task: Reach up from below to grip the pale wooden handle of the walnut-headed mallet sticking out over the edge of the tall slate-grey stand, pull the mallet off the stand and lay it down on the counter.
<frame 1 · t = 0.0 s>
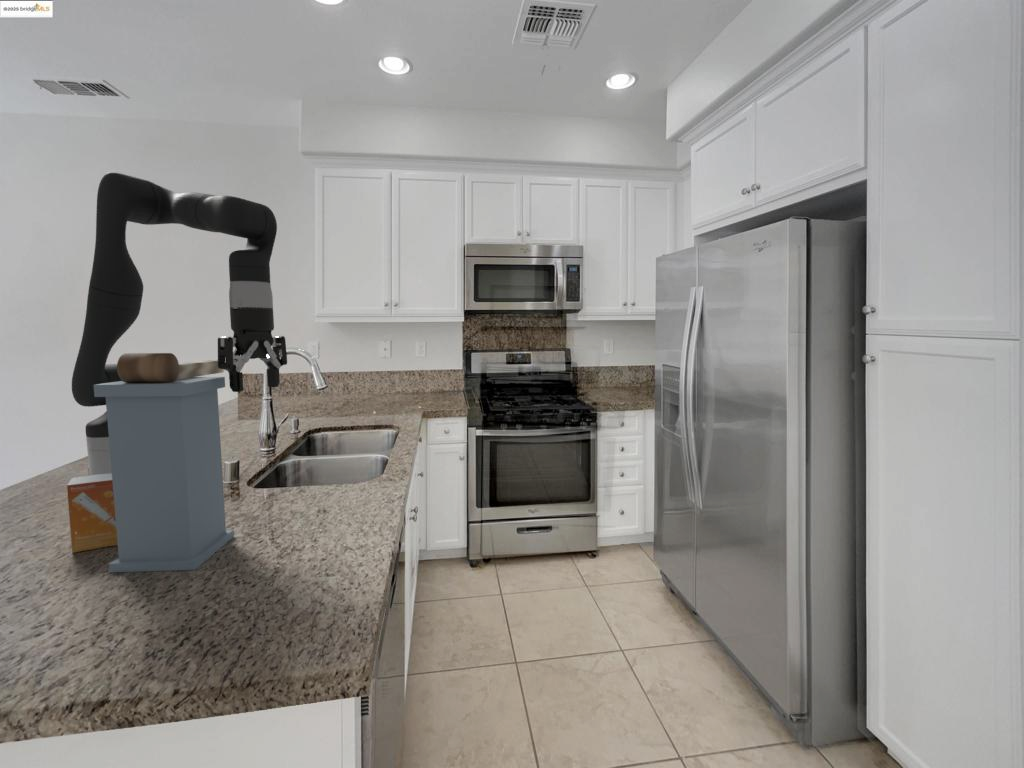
hand: (256, 389, 100), 29 cm above the counter, tool pointing down, fingers open, 8 cm apart
small box: (101, 544, 98), on the counter
mallet: (164, 380, 90), point 32 cm above the counter, touching stand
stand: (176, 553, 94), on the counter
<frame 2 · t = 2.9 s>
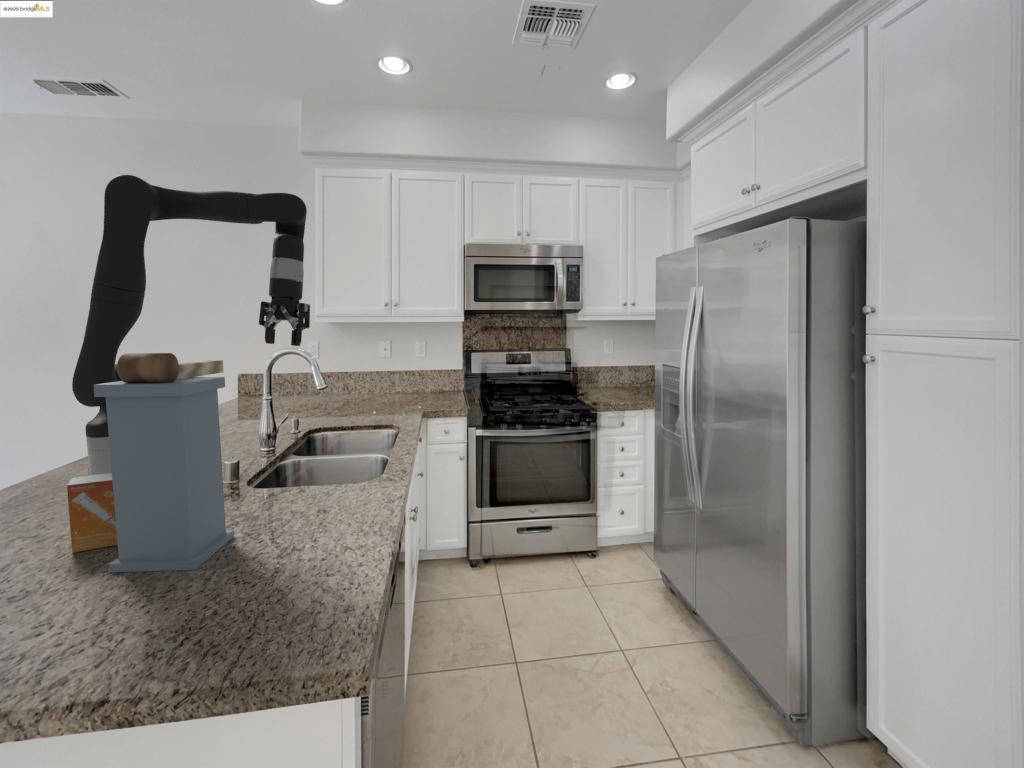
hand: (282, 344, 126), 37 cm above the counter, tool pointing down, fingers open, 8 cm apart
nothing on the counter moved.
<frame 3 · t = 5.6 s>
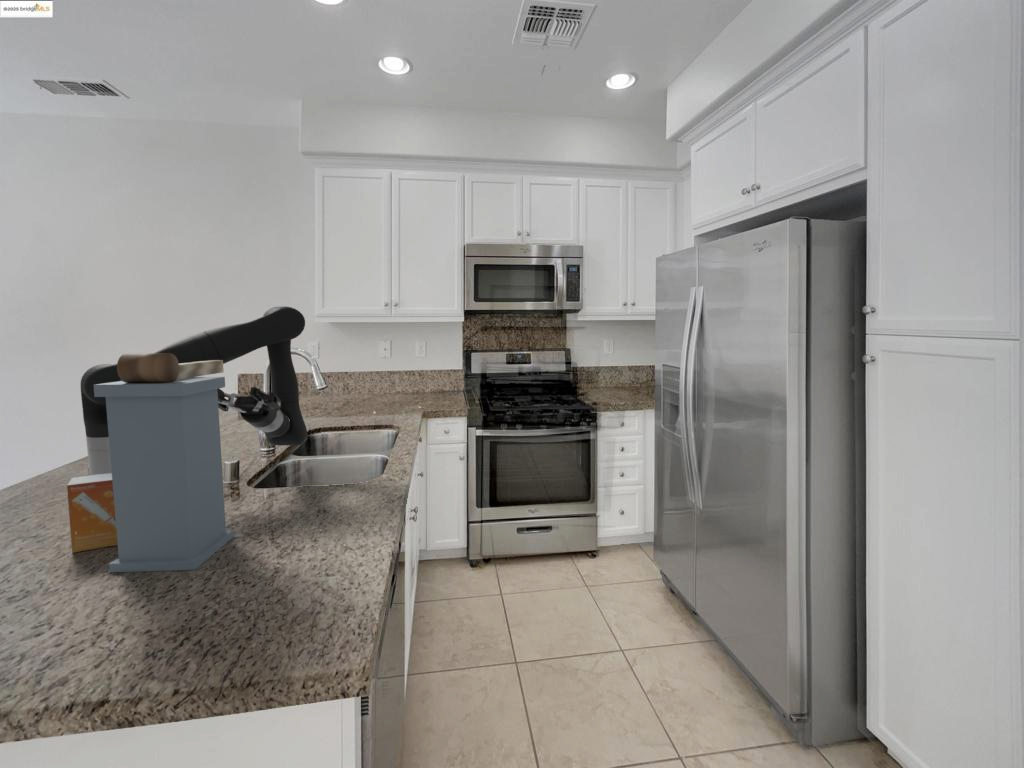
hand: (233, 390, 116), 27 cm above the counter, tool pointing upward, fingers open, 8 cm apart
nothing on the counter moved.
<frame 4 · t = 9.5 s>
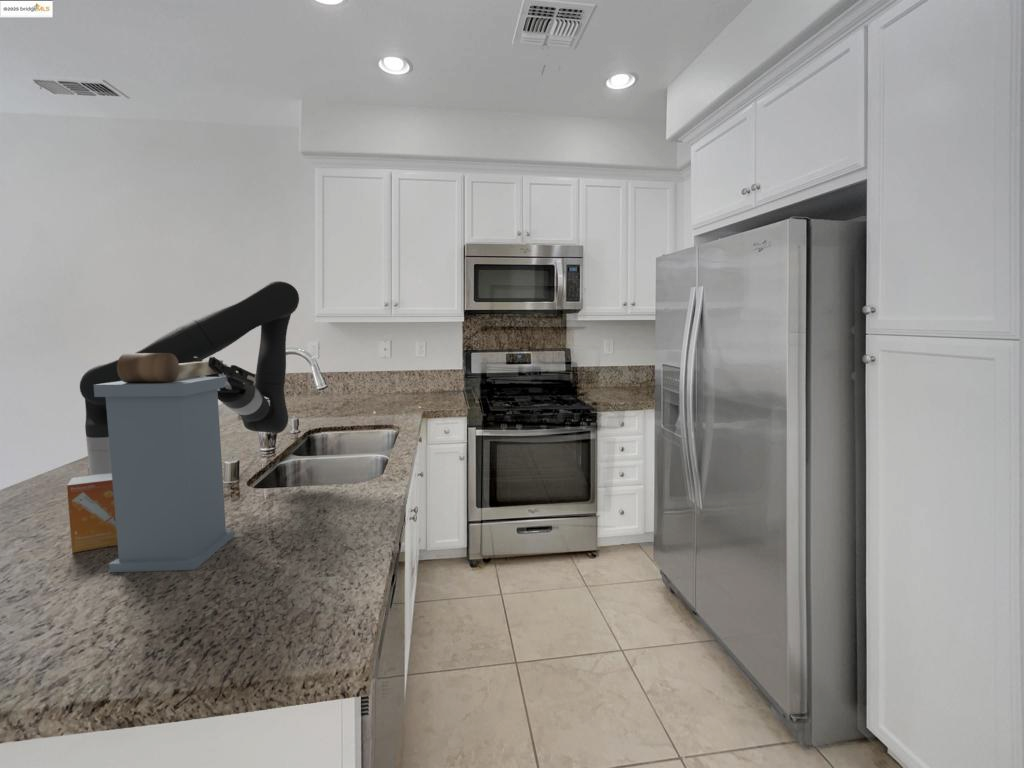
hand: (202, 360, 103), 35 cm above the counter, tool pointing upward, fingers closed on mallet, 2 cm apart
mallet: (164, 380, 90), point 32 cm above the counter, touching gripper
everything else where it was.
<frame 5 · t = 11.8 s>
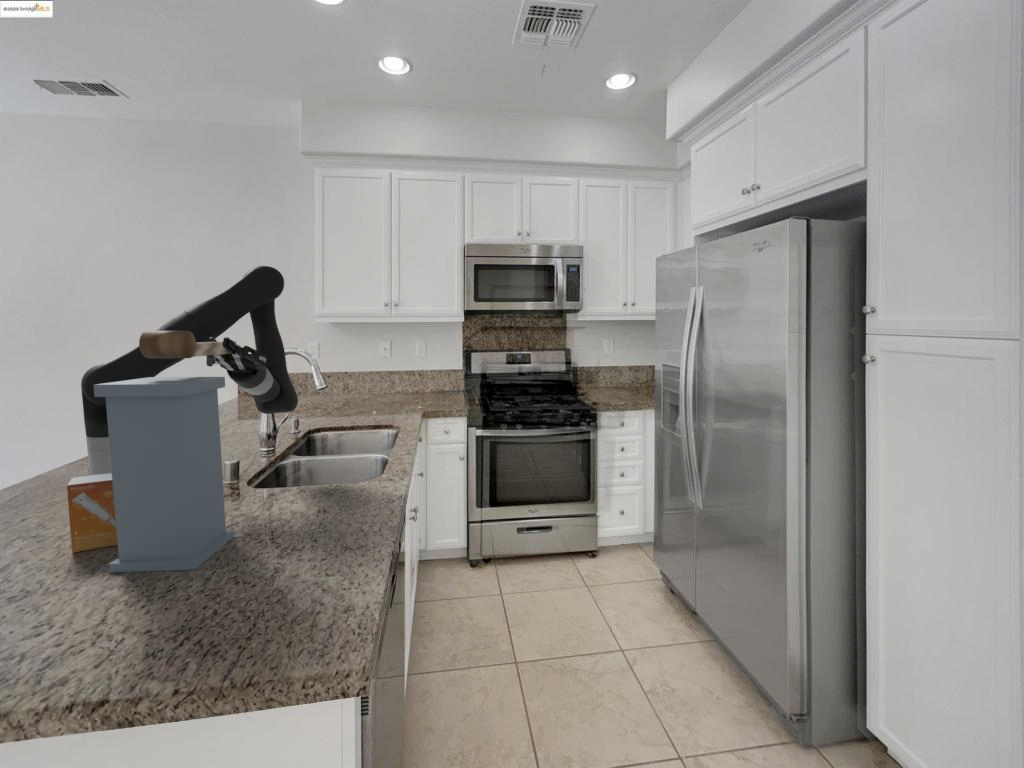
hand: (217, 341, 109), 39 cm above the counter, tool pointing upward, fingers closed on mallet, 2 cm apart
mallet: (182, 357, 96), point 36 cm above the counter, touching gripper
everything else where it was.
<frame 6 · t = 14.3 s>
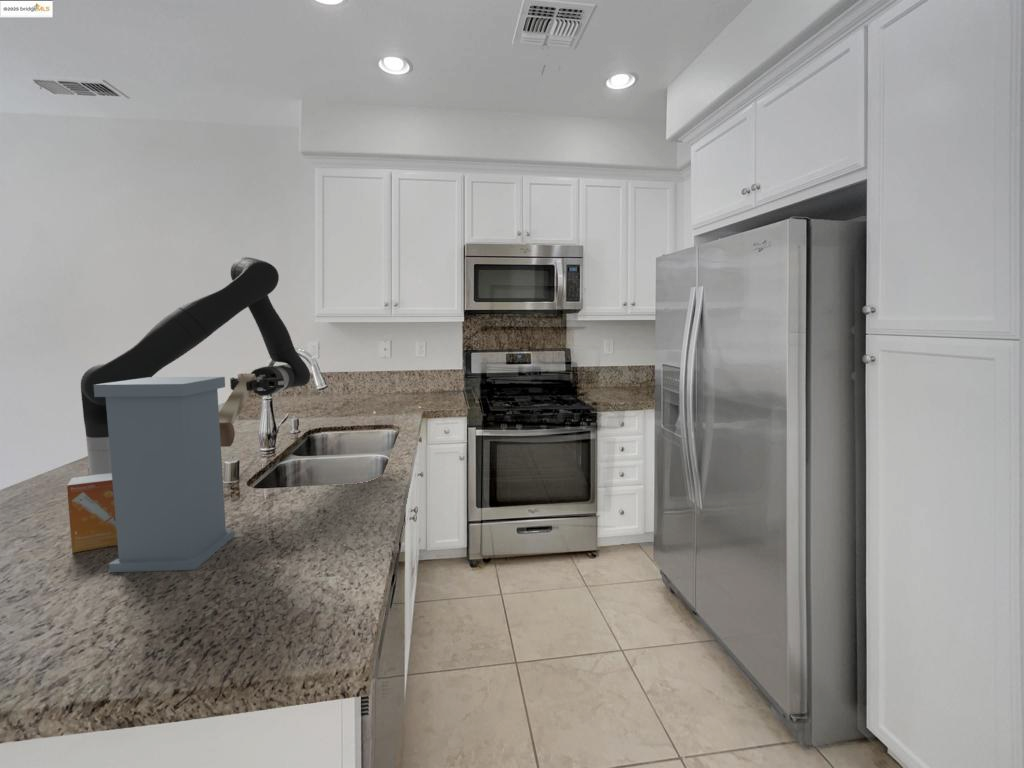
hand: (241, 386, 119), 28 cm above the counter, tool horizontal, fingers closed on mallet, 2 cm apart
mallet: (222, 431, 110), point 19 cm above the counter, tilted 29°, touching gripper
everything else where it was.
when the fingers open (14 cm above the counter, at t = 18.0 s): mallet drops 5 cm, on the counter.
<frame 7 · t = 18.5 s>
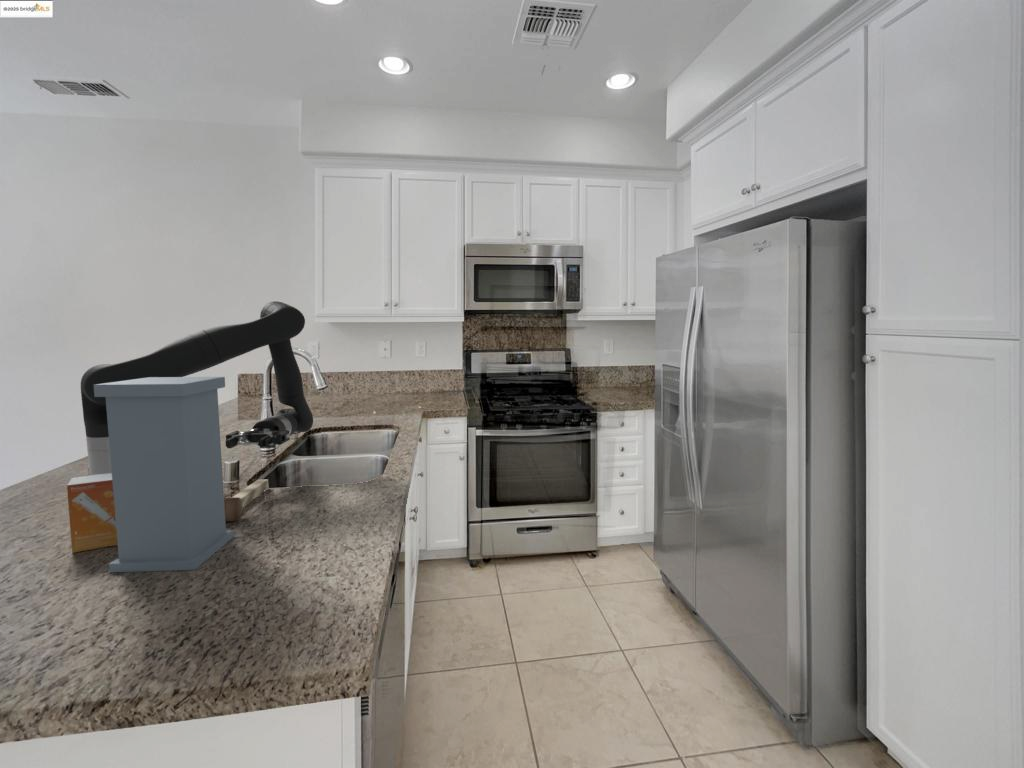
hand: (244, 444, 121), 14 cm above the counter, tool horizontal, fingers open, 7 cm apart
mallet: (229, 514, 114), on the counter
everything else where it was.
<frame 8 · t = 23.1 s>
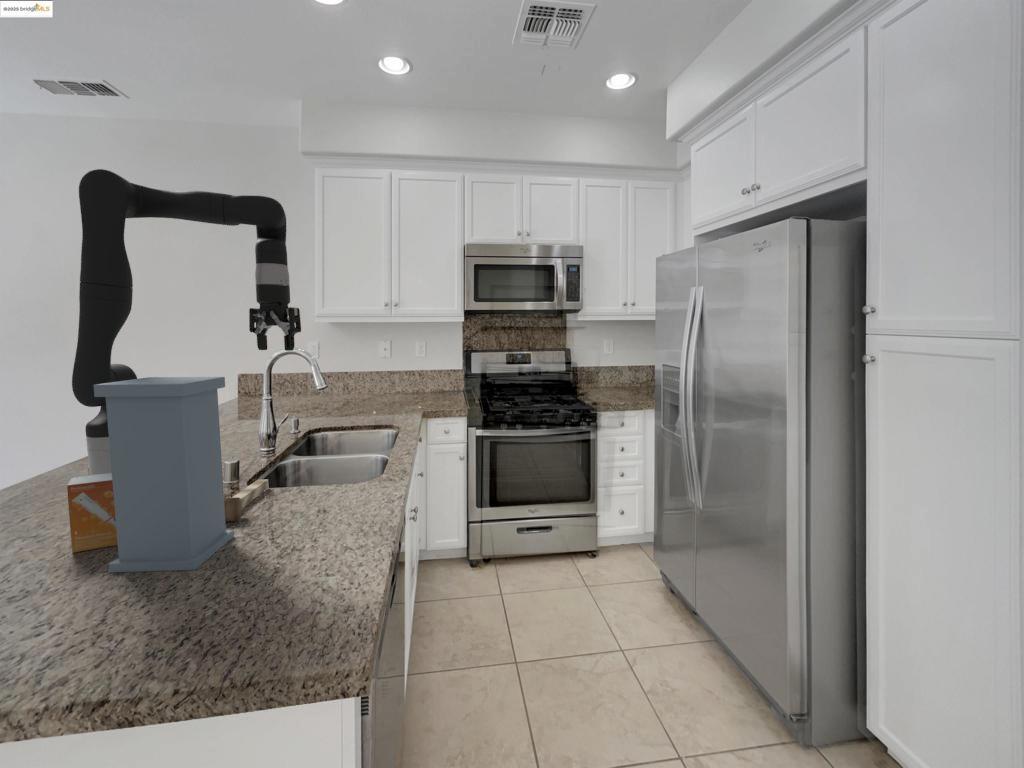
hand: (276, 350, 126), 36 cm above the counter, tool pointing down, fingers open, 8 cm apart
nothing on the counter moved.
at the end: mallet inside the target area (0.9 cm from its centre), on the counter; mallet touching counter; the gripper is holding nothing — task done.
